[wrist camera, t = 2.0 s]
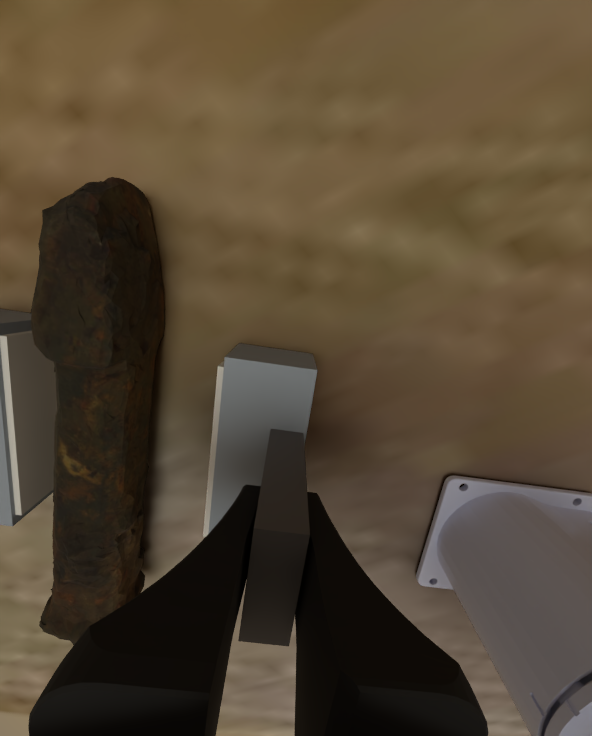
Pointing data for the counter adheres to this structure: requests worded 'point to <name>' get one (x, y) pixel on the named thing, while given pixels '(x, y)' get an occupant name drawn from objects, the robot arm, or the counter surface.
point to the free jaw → (264, 476)
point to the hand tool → (98, 393)
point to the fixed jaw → (24, 419)
